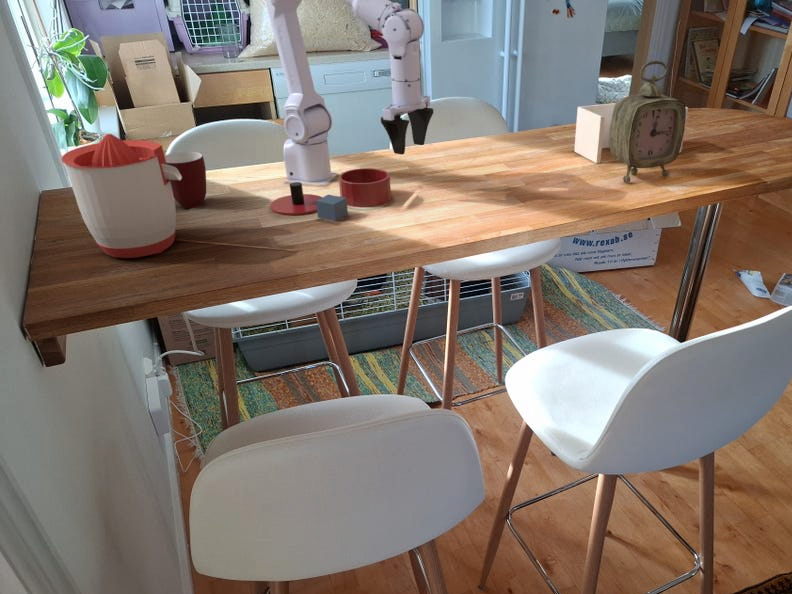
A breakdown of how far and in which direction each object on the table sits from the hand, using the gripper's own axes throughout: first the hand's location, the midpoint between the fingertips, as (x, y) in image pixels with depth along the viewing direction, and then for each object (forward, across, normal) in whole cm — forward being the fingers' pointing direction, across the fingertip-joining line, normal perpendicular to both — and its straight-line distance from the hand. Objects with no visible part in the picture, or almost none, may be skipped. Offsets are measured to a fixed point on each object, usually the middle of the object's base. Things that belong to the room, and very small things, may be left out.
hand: (409, 148), depth 143 cm
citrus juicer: (+10, -46, +28) cm, 55 cm away
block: (+10, -19, +6) cm, 22 cm away
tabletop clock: (+10, +36, -40) cm, 54 cm away
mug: (+10, -28, +37) cm, 47 cm away
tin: (+10, -8, +6) cm, 14 cm away
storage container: (+10, +54, -31) cm, 63 cm away
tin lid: (+9, -18, +16) cm, 26 cm away
